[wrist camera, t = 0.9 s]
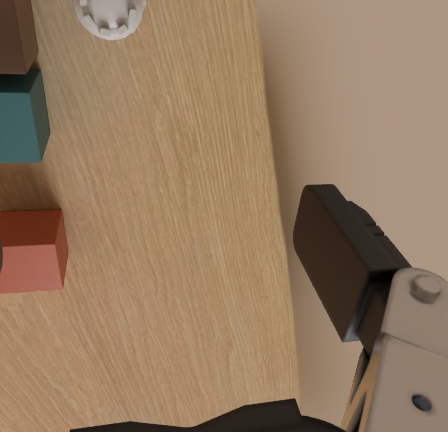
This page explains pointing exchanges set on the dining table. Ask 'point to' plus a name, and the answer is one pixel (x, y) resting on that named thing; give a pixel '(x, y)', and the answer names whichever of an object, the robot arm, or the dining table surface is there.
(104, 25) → the rook chess piece
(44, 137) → the teal block
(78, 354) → the dining table surface
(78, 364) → the dining table surface
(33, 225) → the terracotta block
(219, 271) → the dining table surface
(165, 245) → the dining table surface
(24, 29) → the walnut block
